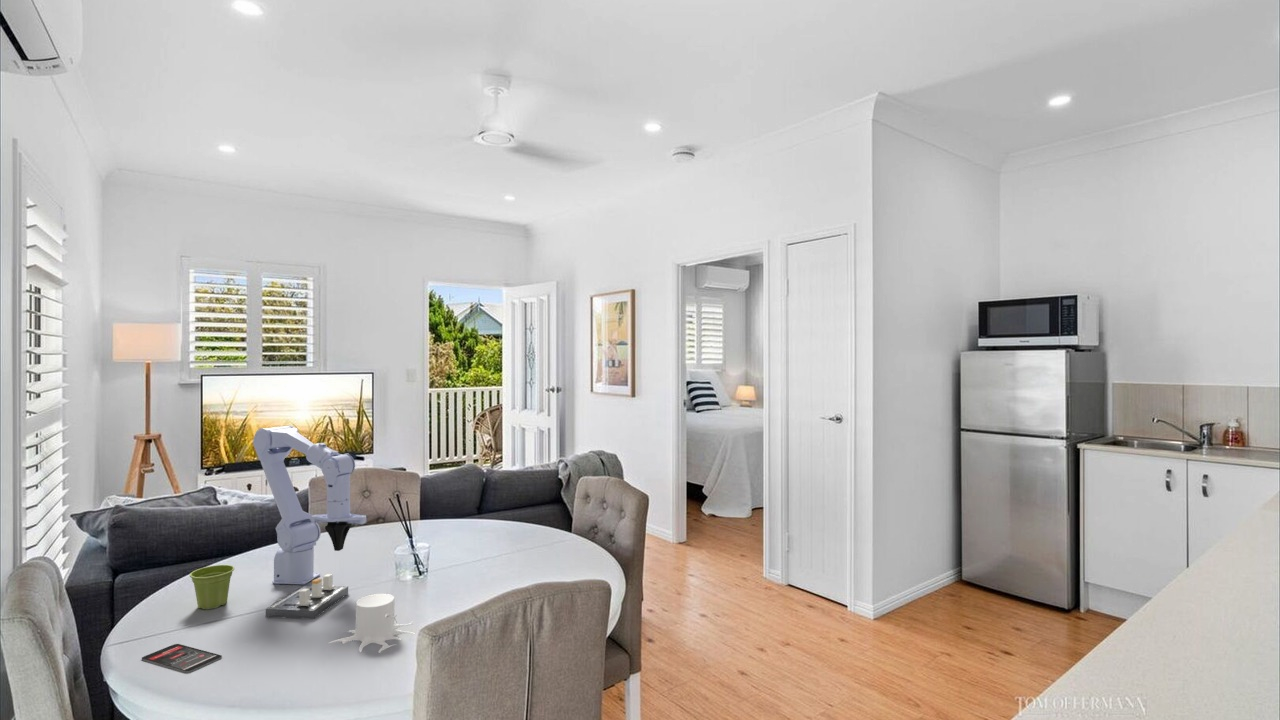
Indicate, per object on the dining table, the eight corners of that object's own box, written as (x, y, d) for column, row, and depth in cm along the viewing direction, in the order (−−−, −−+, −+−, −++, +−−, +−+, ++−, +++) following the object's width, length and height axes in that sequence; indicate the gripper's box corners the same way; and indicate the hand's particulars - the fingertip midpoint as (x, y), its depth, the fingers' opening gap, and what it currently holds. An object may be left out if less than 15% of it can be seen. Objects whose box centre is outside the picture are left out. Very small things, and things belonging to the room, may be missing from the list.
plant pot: (186, 615, 154) (186, 579, 154) (192, 601, 163) (192, 567, 163) (232, 608, 159) (232, 573, 159) (236, 595, 167) (236, 562, 167)
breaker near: (296, 605, 155) (296, 591, 155) (301, 601, 157) (301, 588, 157) (307, 605, 155) (307, 591, 155) (312, 602, 157) (312, 588, 157)
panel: (265, 617, 154) (265, 608, 154) (304, 592, 170) (304, 584, 170) (313, 618, 153) (313, 610, 153) (348, 593, 169) (348, 586, 169)
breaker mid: (308, 597, 160) (308, 581, 160) (313, 594, 162) (313, 578, 162) (319, 597, 160) (319, 581, 160) (324, 594, 162) (324, 578, 162)
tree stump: (362, 664, 132) (362, 625, 132) (311, 640, 143) (311, 604, 143) (441, 629, 149) (441, 595, 148) (389, 610, 159) (389, 578, 159)
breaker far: (320, 589, 165) (320, 576, 165) (324, 586, 168) (325, 573, 167) (330, 590, 165) (330, 576, 165) (335, 586, 167) (335, 574, 167)
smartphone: (176, 643, 139) (223, 655, 133) (176, 646, 139) (223, 659, 133) (139, 658, 132) (187, 672, 127) (139, 661, 132) (187, 675, 127)
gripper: (304, 502, 169) (304, 553, 169) (357, 503, 168) (357, 554, 169) (319, 496, 176) (319, 545, 176) (370, 497, 176) (370, 546, 176)
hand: (338, 549), depth 173 cm, fingers closed
